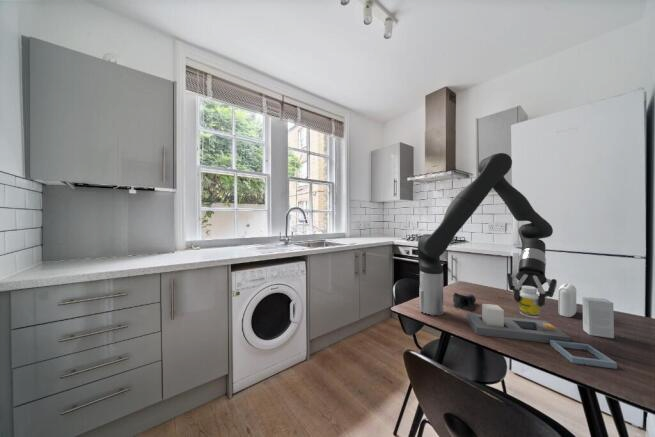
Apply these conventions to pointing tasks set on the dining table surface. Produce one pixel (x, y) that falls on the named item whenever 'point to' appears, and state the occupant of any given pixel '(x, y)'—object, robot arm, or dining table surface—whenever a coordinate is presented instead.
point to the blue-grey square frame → (580, 360)
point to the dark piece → (464, 301)
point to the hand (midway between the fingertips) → (528, 302)
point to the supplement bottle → (529, 302)
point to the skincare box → (598, 317)
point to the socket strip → (512, 326)
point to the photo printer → (567, 300)
